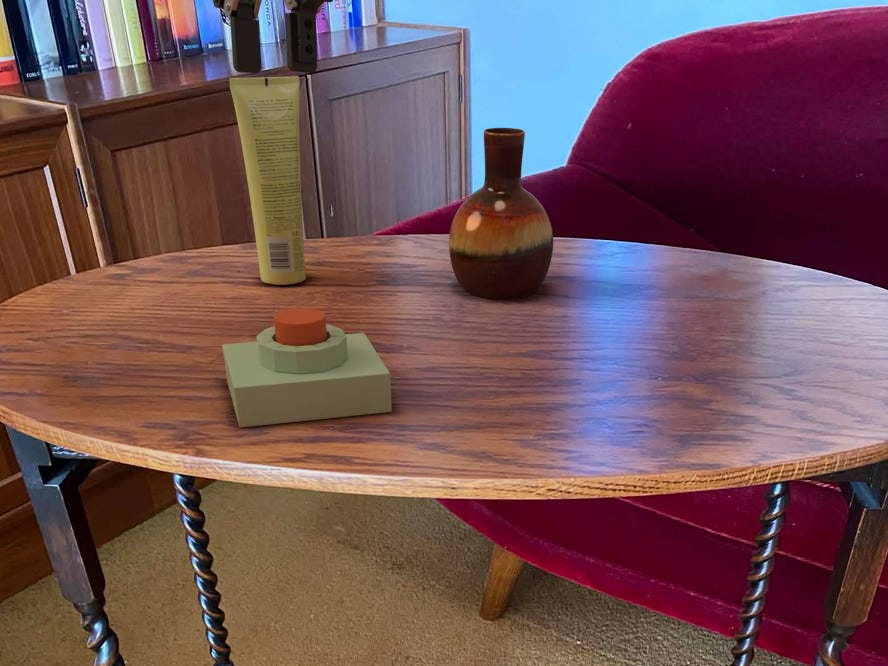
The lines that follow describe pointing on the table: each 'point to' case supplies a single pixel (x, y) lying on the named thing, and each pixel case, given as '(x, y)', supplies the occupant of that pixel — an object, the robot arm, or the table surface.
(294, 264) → the tube
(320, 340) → the red push button
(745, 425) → the table surface
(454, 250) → the vase
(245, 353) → the push button base
